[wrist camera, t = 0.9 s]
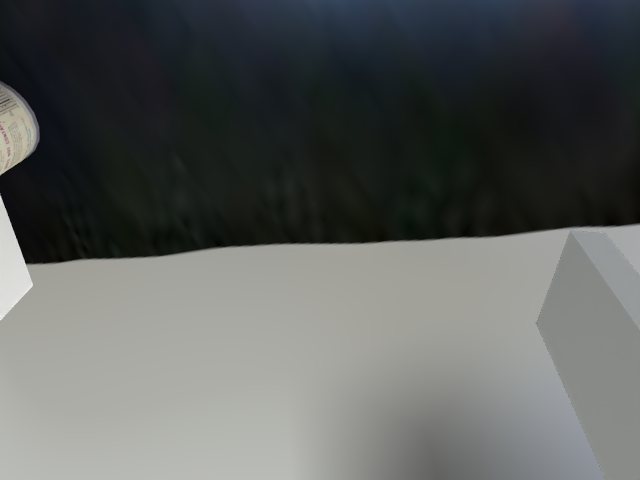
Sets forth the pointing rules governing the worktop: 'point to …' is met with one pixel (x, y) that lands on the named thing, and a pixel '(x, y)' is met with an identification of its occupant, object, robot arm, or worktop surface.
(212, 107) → the worktop surface
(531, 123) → the worktop surface
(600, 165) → the worktop surface
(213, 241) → the worktop surface
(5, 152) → the aerosol can
